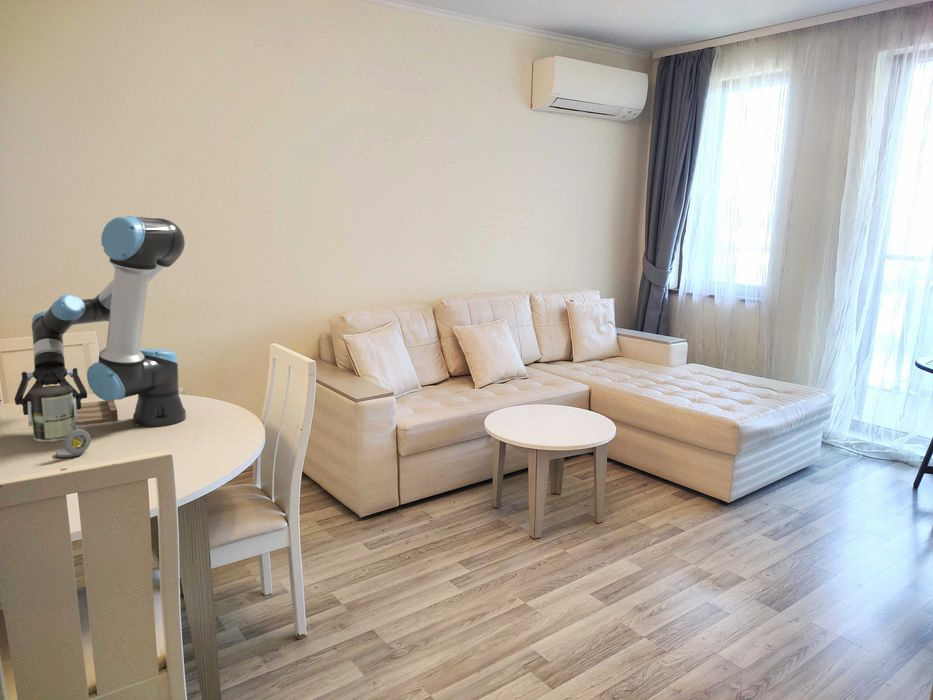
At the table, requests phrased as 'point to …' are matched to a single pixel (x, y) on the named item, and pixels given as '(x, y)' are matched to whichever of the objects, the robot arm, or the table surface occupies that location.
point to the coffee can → (52, 412)
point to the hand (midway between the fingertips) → (53, 420)
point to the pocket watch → (75, 442)
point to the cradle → (97, 412)
